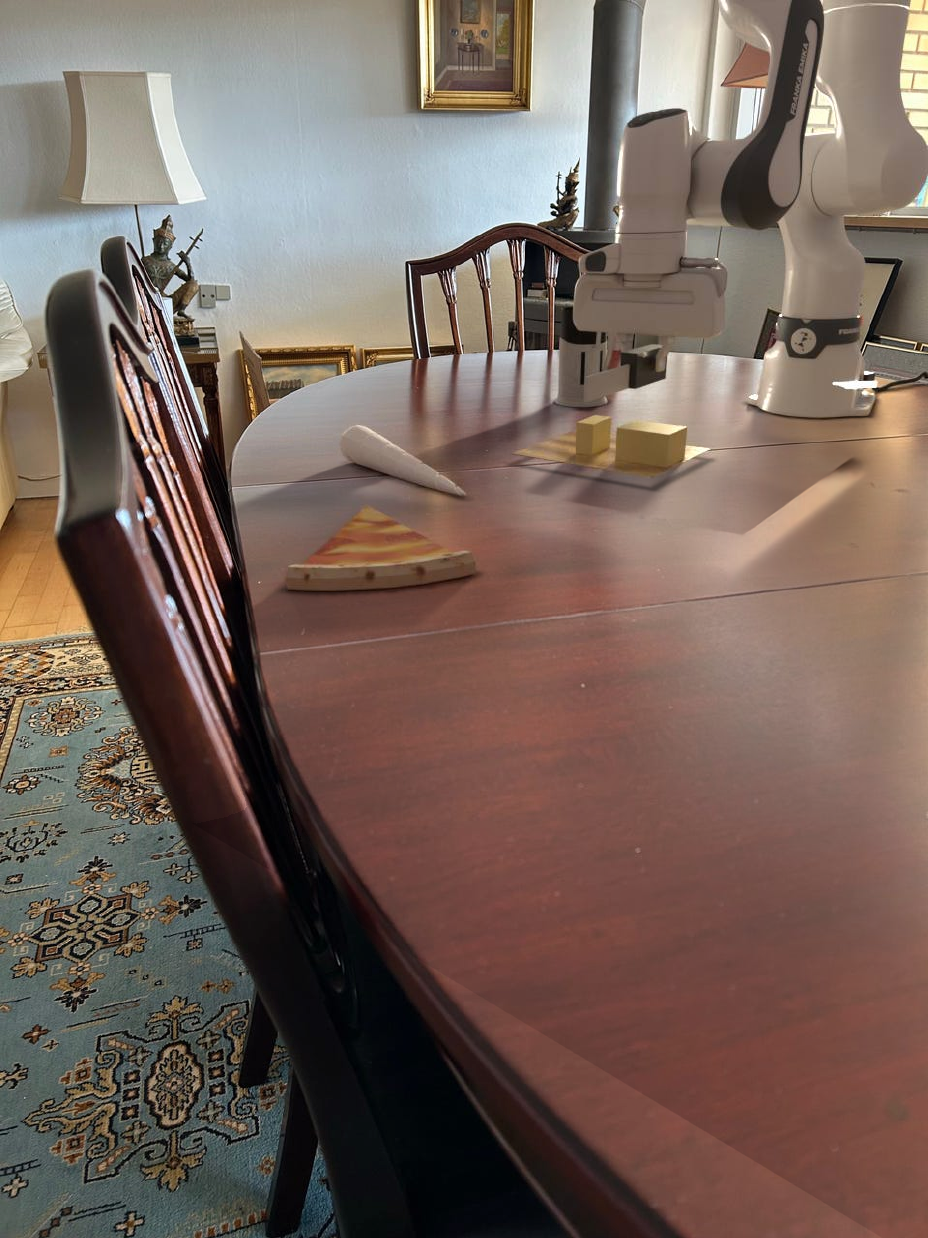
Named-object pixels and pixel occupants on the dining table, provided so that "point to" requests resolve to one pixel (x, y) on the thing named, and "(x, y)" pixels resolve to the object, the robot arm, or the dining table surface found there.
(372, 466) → the unicorn horn
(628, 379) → the knife
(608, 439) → the block
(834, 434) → the dining table surface
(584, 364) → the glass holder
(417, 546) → the pizza slice
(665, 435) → the butter
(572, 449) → the board
